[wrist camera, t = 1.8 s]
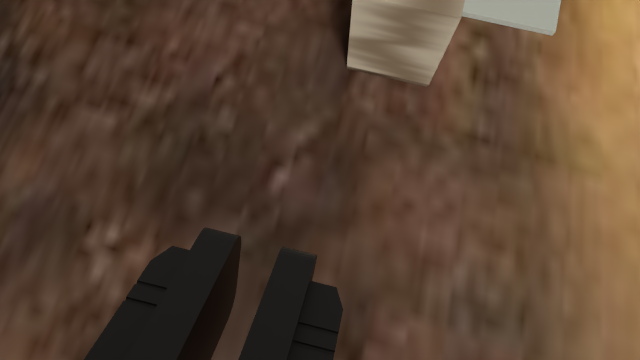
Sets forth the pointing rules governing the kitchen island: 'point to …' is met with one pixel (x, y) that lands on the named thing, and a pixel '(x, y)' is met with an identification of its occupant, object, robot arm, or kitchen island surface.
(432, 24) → the birch block
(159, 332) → the robot arm
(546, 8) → the sage mat
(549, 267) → the kitchen island surface
